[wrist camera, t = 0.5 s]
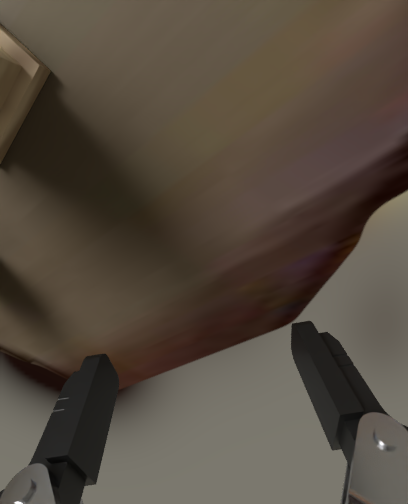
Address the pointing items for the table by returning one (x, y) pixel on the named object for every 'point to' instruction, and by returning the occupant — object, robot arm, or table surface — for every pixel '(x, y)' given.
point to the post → (17, 86)
